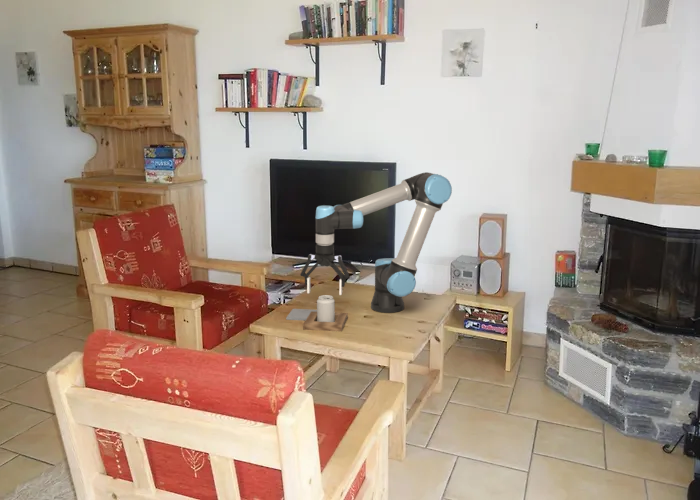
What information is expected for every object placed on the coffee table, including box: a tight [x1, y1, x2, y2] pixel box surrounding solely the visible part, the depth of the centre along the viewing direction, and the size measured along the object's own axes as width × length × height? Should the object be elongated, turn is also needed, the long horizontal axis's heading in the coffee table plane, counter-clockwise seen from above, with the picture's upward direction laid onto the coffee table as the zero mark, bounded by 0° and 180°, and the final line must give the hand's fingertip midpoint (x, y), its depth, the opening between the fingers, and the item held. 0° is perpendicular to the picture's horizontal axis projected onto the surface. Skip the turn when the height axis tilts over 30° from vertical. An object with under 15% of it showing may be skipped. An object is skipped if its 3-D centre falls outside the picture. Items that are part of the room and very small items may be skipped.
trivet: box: [286, 308, 317, 321], centre depth 260 cm, size 12×12×1 cm
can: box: [316, 294, 336, 322], centre depth 249 cm, size 8×8×12 cm
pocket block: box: [302, 311, 349, 332], centre depth 250 cm, size 16×16×2 cm
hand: (324, 293), depth 247 cm, fingers open, 13 cm apart
